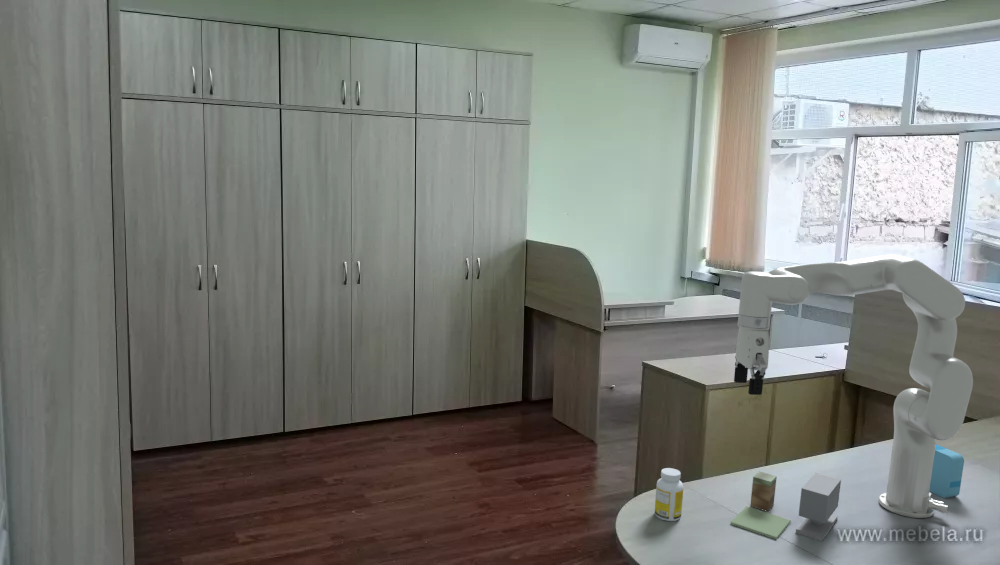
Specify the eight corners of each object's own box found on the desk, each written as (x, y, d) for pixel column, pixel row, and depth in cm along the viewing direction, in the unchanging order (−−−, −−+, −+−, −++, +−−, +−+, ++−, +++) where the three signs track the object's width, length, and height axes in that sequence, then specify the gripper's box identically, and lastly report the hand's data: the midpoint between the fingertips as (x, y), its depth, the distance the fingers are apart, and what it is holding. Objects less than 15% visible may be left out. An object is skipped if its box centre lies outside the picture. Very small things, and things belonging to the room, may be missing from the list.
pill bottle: (682, 512, 184) (685, 468, 182) (679, 524, 178) (683, 479, 176) (656, 507, 186) (659, 464, 184) (652, 519, 180) (656, 474, 178)
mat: (790, 522, 181) (790, 520, 181) (776, 539, 172) (776, 537, 172) (746, 508, 187) (746, 506, 187) (730, 524, 179) (730, 521, 179)
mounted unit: (837, 519, 183) (842, 478, 181) (821, 541, 172) (827, 497, 170) (811, 512, 187) (816, 471, 185) (795, 532, 176) (800, 489, 174)
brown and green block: (773, 505, 190) (776, 476, 189) (767, 511, 186) (770, 481, 185) (756, 500, 193) (759, 471, 191) (750, 506, 189) (753, 476, 188)
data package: (959, 498, 198) (965, 456, 197) (947, 500, 197) (953, 457, 195) (920, 479, 210) (926, 439, 208) (908, 481, 208) (914, 441, 206)
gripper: (783, 330, 173) (776, 399, 176) (755, 314, 190) (748, 378, 193) (752, 329, 173) (745, 398, 176) (726, 314, 190) (720, 377, 193)
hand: (747, 388), depth 184 cm, fingers open, 9 cm apart
